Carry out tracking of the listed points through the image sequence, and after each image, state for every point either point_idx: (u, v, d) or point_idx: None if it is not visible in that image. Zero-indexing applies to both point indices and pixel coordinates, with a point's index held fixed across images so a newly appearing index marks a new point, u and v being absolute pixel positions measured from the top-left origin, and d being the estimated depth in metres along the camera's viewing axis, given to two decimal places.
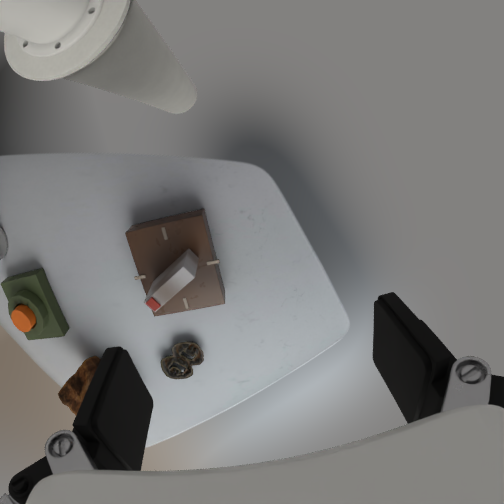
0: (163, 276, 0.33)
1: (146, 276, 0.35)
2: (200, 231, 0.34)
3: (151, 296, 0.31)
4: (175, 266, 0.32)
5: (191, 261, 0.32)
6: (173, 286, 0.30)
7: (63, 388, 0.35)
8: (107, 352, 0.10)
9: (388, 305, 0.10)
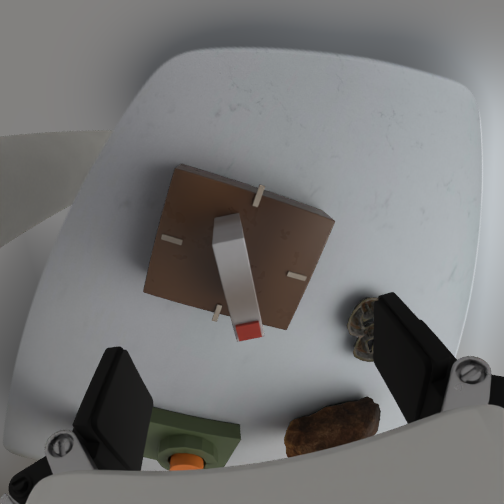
0: None
1: (221, 303, 0.22)
2: (198, 186, 0.19)
3: (234, 325, 0.17)
4: None
5: (226, 225, 0.18)
6: (239, 281, 0.16)
7: None
8: (107, 352, 0.10)
9: (388, 305, 0.10)
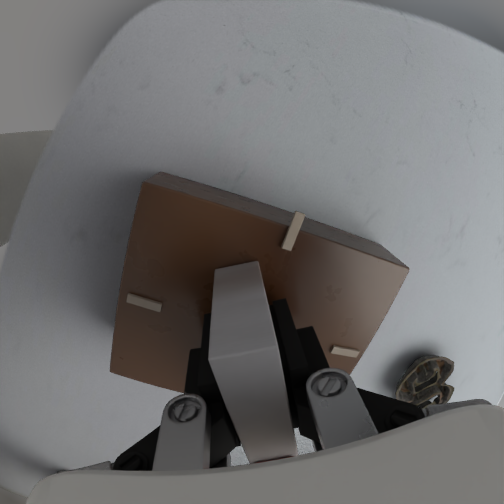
0: None
1: None
2: (185, 214, 0.11)
3: (252, 462, 0.09)
4: None
5: (236, 297, 0.09)
6: (263, 414, 0.08)
7: None
8: (207, 317, 0.11)
9: (274, 310, 0.11)
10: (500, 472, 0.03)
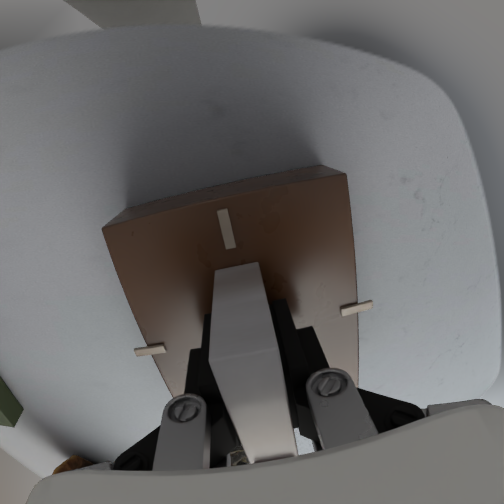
0: None
1: (168, 348, 0.13)
2: (335, 224, 0.11)
3: (252, 463, 0.09)
4: None
5: (236, 298, 0.09)
6: (263, 415, 0.08)
7: None
8: (207, 317, 0.11)
9: (274, 310, 0.11)
10: (500, 472, 0.03)
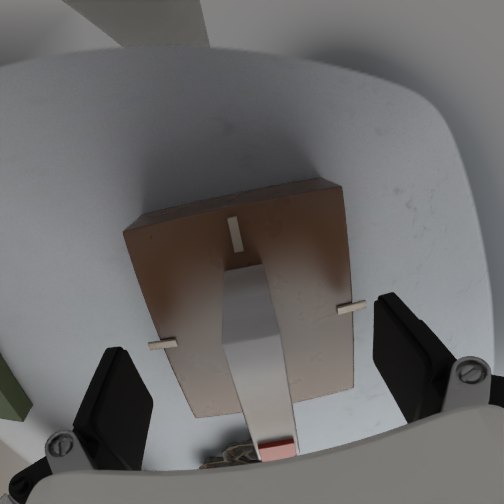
0: None
1: (179, 342, 0.14)
2: (331, 231, 0.13)
3: (256, 444, 0.10)
4: None
5: (244, 294, 0.11)
6: (267, 396, 0.09)
7: None
8: (107, 352, 0.10)
9: (388, 305, 0.10)
10: (500, 472, 0.03)
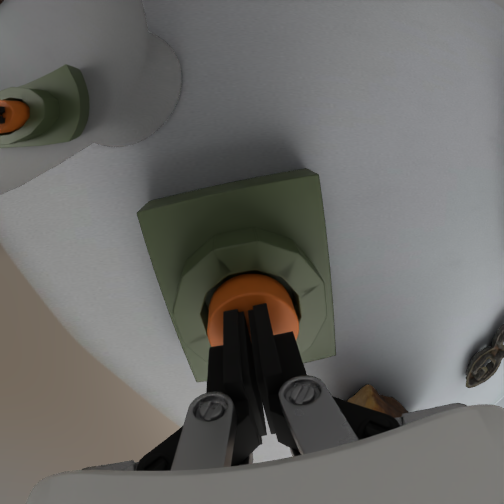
0: None
1: None
2: None
3: None
4: None
5: None
6: None
7: None
8: (227, 314, 0.11)
9: (254, 316, 0.11)
10: (500, 472, 0.03)
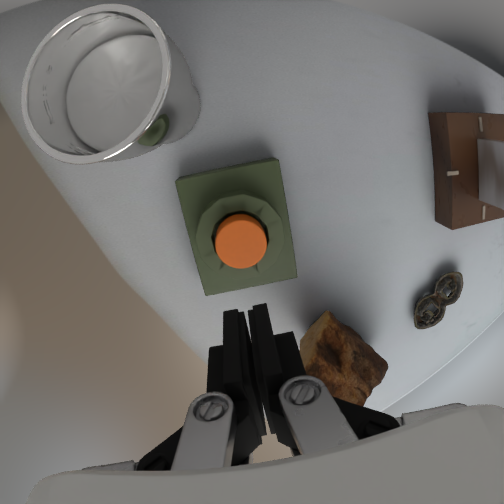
0: (492, 180, 0.22)
1: (458, 173, 0.24)
2: (503, 131, 0.22)
3: None
4: (495, 159, 0.21)
5: (498, 141, 0.20)
6: None
7: (309, 367, 0.24)
8: (227, 314, 0.11)
9: (254, 316, 0.11)
10: (500, 472, 0.03)
